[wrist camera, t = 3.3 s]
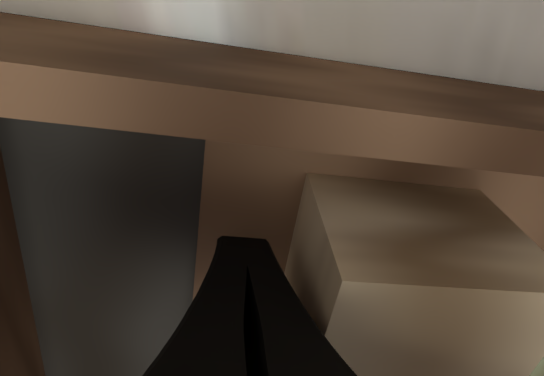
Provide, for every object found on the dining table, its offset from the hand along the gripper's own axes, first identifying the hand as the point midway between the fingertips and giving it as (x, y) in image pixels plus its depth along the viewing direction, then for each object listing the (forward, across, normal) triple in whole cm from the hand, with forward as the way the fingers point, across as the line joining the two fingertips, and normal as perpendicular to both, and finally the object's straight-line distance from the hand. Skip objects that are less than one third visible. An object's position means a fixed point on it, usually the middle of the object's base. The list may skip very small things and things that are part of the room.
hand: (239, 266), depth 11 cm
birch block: (+1, -4, 0) cm, 4 cm away
